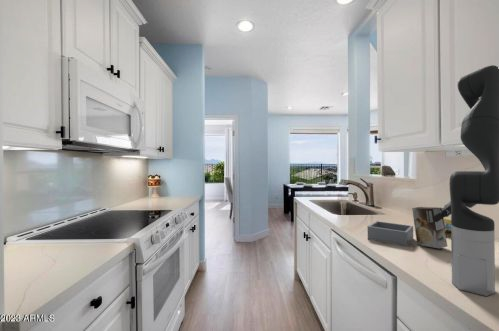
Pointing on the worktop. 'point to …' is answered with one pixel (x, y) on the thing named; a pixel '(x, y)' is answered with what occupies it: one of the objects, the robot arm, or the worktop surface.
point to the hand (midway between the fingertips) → (435, 218)
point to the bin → (390, 233)
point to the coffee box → (429, 227)
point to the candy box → (447, 226)
